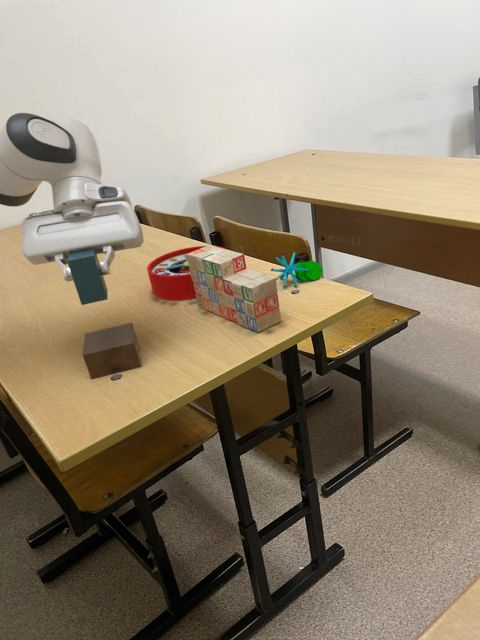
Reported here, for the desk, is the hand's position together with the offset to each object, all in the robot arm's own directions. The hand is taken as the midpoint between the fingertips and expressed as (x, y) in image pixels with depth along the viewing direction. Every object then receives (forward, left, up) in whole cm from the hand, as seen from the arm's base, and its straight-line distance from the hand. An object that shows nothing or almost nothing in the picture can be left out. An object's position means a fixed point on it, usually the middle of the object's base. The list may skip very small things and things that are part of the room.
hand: (87, 276), depth 90 cm
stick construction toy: (+41, +19, -17) cm, 48 cm away
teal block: (0, +1, -4) cm, 4 cm away
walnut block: (0, +1, -17) cm, 17 cm away
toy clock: (+19, +32, -17) cm, 41 cm away
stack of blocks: (+25, +9, -17) cm, 32 cm away
